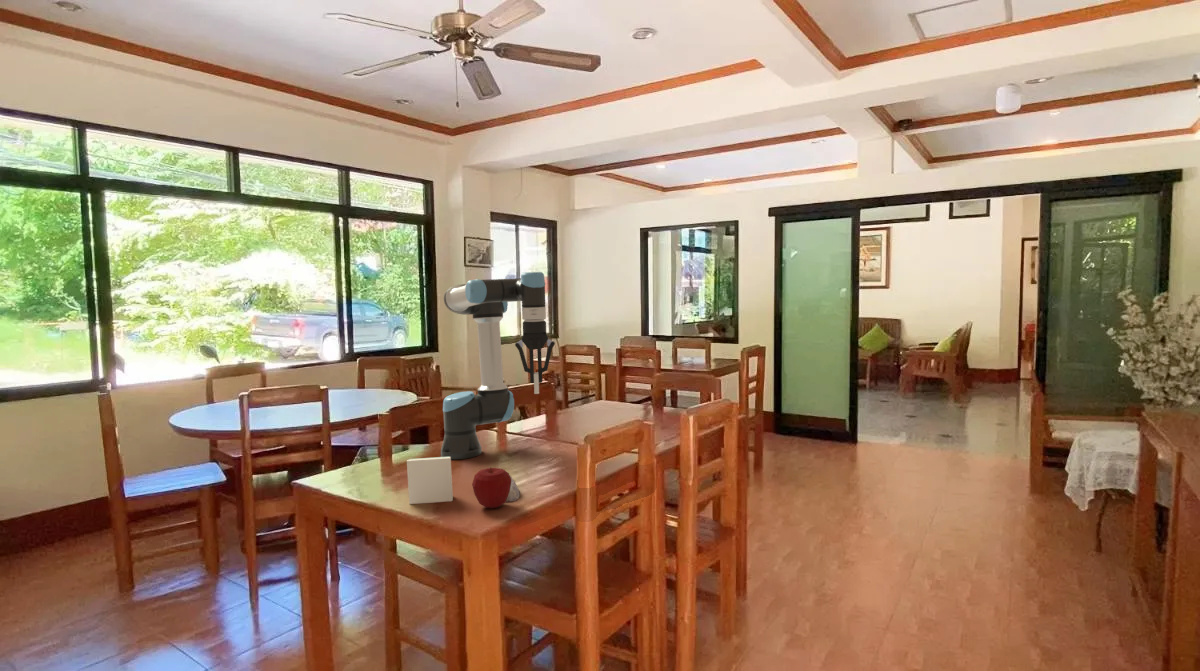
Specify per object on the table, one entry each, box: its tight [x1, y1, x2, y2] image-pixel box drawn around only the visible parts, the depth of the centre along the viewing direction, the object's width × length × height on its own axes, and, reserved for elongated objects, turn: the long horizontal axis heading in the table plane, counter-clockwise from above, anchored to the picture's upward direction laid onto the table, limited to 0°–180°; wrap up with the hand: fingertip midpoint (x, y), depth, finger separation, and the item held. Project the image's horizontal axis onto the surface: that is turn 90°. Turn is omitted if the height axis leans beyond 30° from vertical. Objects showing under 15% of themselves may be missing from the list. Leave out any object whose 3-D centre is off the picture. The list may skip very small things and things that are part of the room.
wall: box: [406, 457, 454, 505], centre depth 187 cm, size 1×12×13 cm, turn 96°
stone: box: [505, 475, 521, 503], centre depth 193 cm, size 17×10×10 cm
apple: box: [471, 467, 511, 509], centre depth 181 cm, size 11×11×12 cm
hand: (536, 393), depth 205 cm, fingers closed
